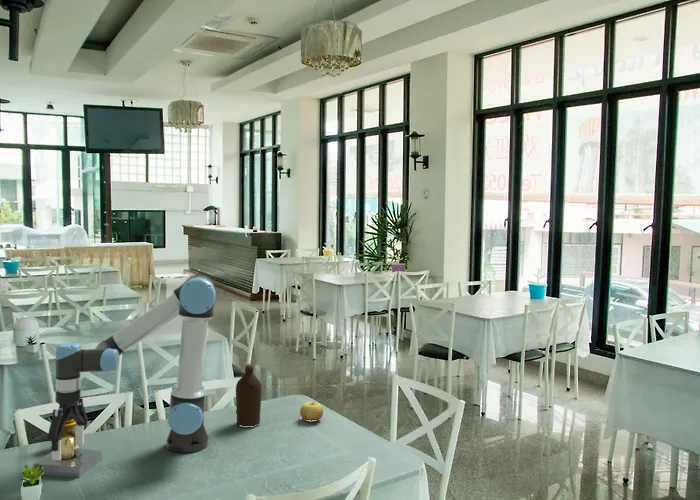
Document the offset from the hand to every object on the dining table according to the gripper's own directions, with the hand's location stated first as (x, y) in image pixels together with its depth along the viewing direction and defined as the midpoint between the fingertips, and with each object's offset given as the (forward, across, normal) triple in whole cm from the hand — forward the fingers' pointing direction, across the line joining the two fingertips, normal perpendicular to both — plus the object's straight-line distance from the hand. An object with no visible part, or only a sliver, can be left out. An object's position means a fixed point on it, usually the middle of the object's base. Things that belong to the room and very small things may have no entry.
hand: (68, 451), depth 203 cm
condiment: (+6, -16, -11) cm, 20 cm away
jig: (+5, 0, 0) cm, 5 cm away
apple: (+6, -60, +73) cm, 95 cm away
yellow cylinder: (+5, 0, 0) cm, 5 cm away
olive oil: (+6, -51, +48) cm, 70 cm away
